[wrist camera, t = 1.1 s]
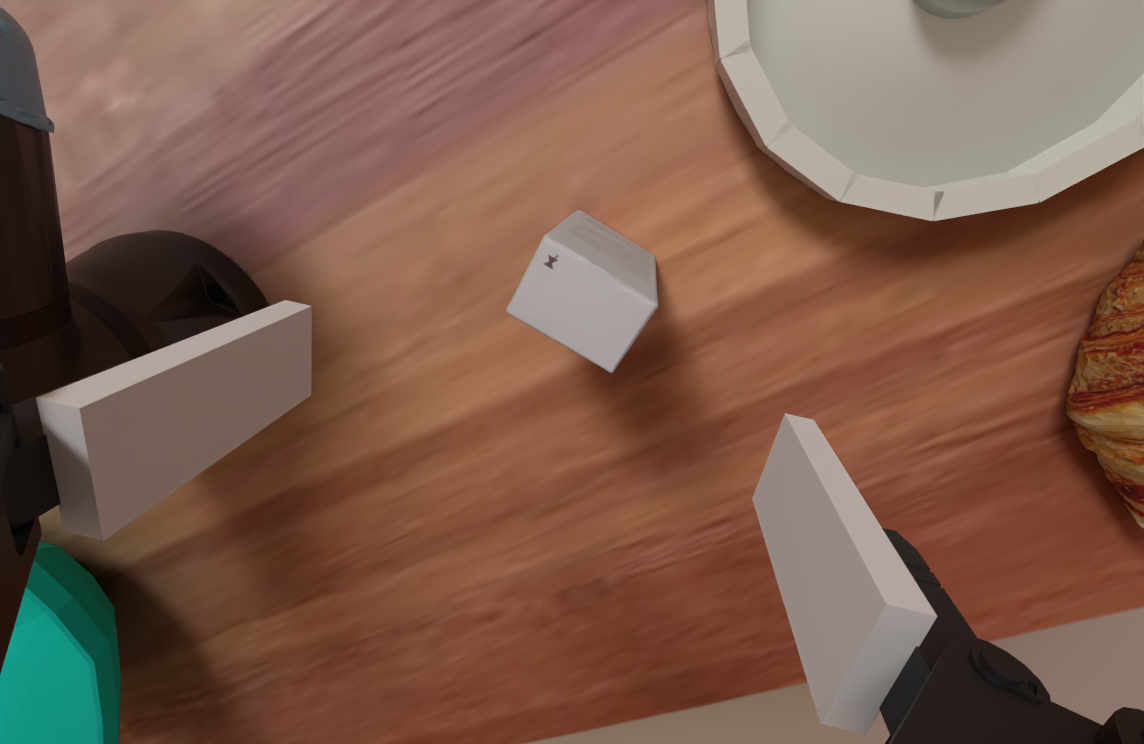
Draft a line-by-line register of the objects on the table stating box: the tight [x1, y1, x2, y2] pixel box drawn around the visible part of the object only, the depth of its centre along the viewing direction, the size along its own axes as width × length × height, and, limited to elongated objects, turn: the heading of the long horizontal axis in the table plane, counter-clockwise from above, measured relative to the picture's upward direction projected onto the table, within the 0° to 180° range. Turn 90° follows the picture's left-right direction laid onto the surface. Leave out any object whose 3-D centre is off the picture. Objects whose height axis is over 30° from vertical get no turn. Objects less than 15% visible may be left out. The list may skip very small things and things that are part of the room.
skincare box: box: [506, 210, 659, 373], centre depth 30 cm, size 6×4×12 cm
